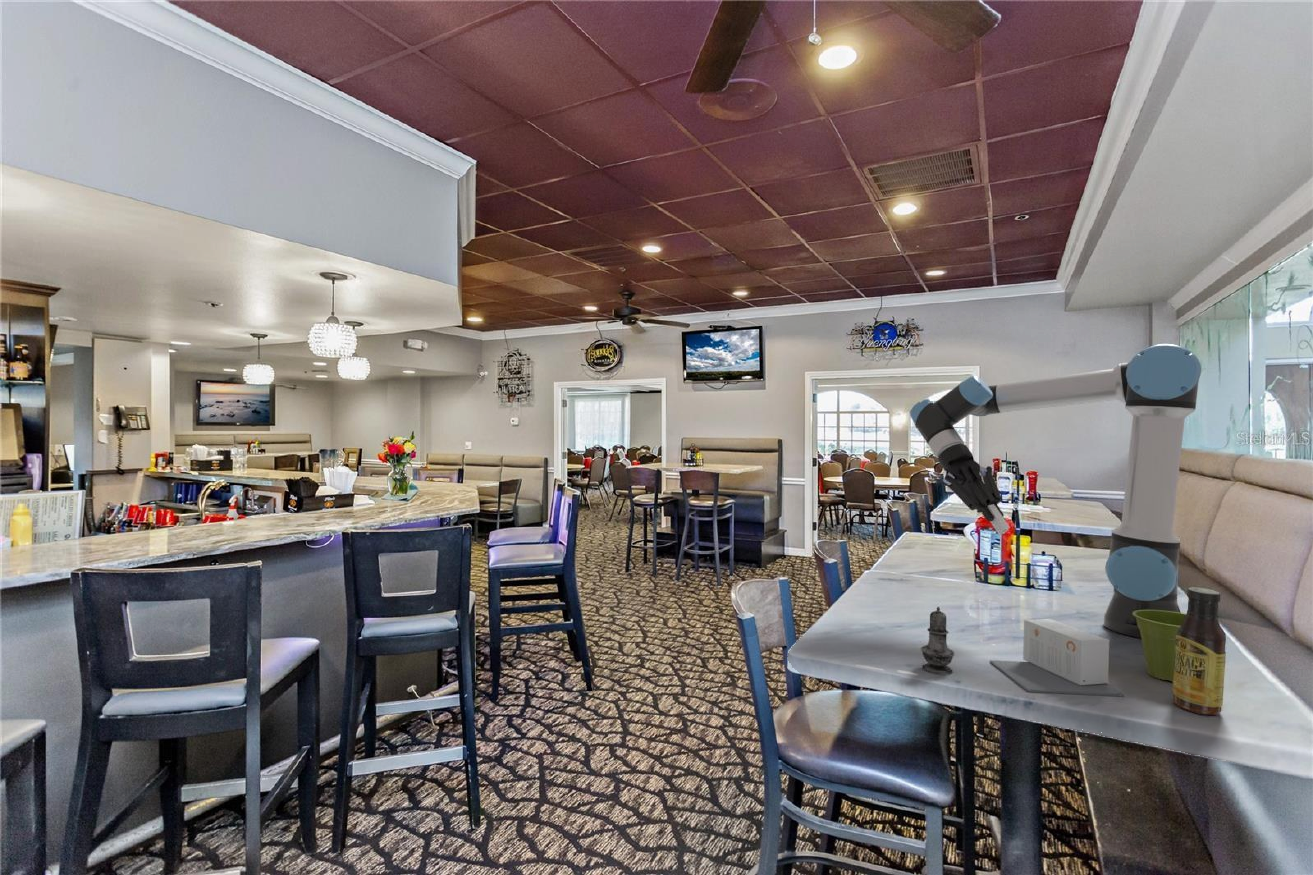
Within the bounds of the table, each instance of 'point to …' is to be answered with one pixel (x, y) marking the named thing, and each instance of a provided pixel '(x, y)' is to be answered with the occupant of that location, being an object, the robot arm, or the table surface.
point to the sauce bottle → (1200, 655)
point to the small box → (1066, 651)
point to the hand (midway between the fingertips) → (1004, 531)
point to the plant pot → (1159, 640)
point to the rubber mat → (1048, 680)
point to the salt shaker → (937, 646)
